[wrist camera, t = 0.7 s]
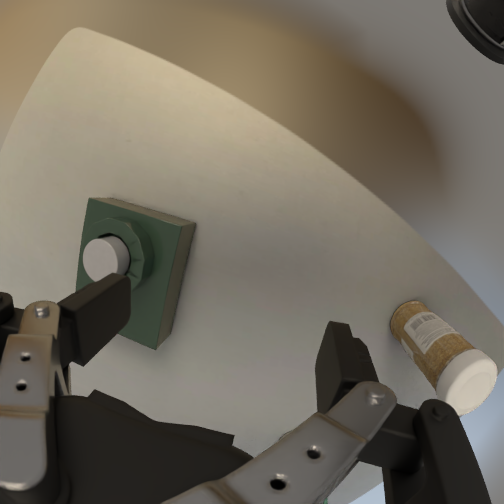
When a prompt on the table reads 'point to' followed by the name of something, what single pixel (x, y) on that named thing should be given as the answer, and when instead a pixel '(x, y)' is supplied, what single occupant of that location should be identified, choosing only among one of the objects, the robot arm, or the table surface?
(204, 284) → the table surface
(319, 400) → the robot arm
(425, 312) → the sprinkles bottle
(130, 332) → the push button box
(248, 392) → the table surface
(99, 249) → the grey short cylinder
